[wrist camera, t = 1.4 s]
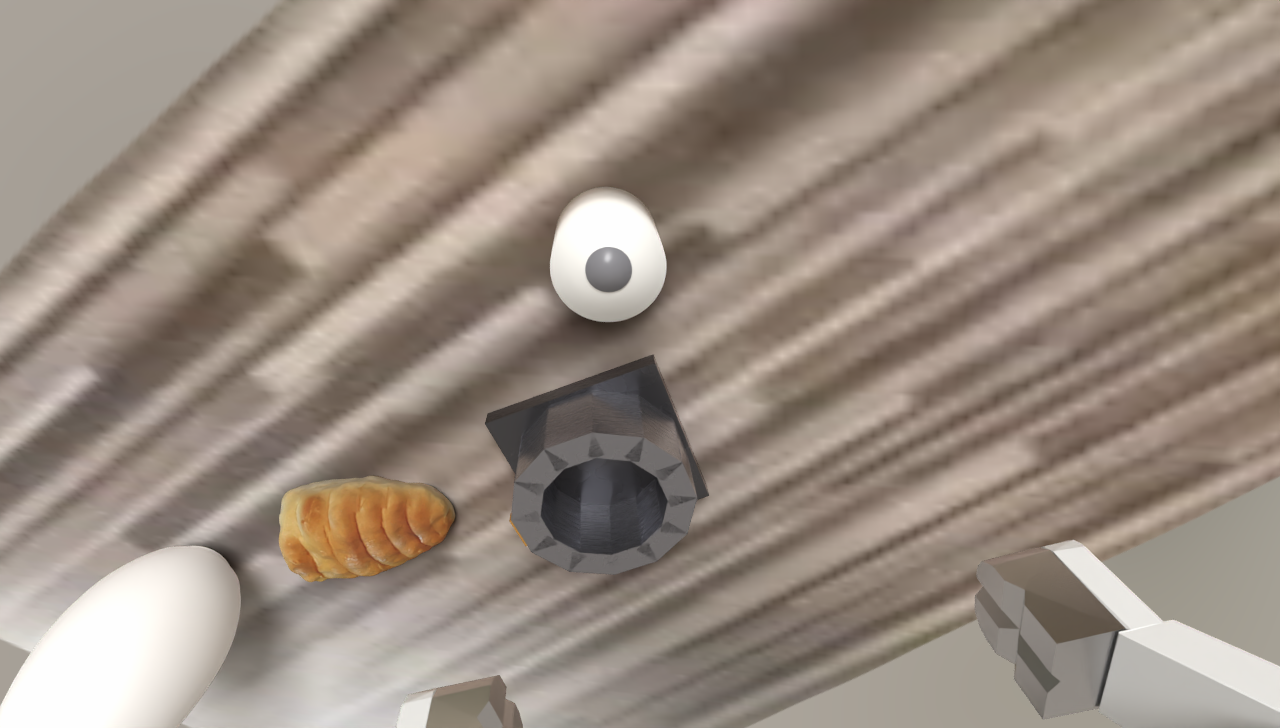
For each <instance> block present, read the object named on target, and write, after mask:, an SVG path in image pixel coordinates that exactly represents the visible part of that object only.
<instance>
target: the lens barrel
mask: <svg viewBox="0 0 1280 728" xmlns="http://www.w3.org/2000/svg"><path fill="white" fill-rule="evenodd" d="M485 425H486V426H487V428H488V430H489V431H490V433H491V434H492V436H493V438H494V439H495V441H496V443H497V444H498V446H499V448H500V449H501V451H502V453H503V454H504V456H505V457H506V459H507V461H508V462H509V464H510V466H511V467H512V469H513V471H514V472H515V474H516V475H515V481H514V493H513V503H512V513H511V515H510V523H511V524H512V526H513V527H514V529H515V530H516V532H517V533H518V535H519V537H520V538H521V540H522V541H523V543H524V544H525V546H528V547H529V549H530V550H531V552H532V553H534V554H536V555H538V556H540V557H542V558H544V559H546V560H548V561H550V562H552V563H554V564H556V565H558V566H559V567H561V568H563V569H565V570H567V571H569V572H583V573H598V574H613V575H615V574H618V573H621V572H624V571H627V570H631V569H634V568H637V567H640V566H643V565H646V564H649V563H653V562H656V561H658V560H659V559H660V558H661V557H662V556H663V555H664V554H665V553H666V552H668V551H669V550H670V549H671V548H672V547H673V546H674V545H675V544H676V543H677V542H679V541H680V540H681V539H682V538H683V537H684V536H685V535H686V534H687V533H688V529H689V526H690V522H691V518H692V515H693V511H694V508H695V504H696V501H697V499H700V498H703V497H706V496H709V493H708V489H707V486H706V483H705V480H704V478H703V475H702V473H701V471H700V468H699V466H698V463H697V461H696V458H695V456H694V453H693V451H692V448H691V446H690V443H689V441H688V439H687V436H686V434H685V431H684V429H683V426H682V424H681V421H680V419H679V416H678V414H677V411H676V409H675V407H674V404H673V402H672V399H671V397H670V394H669V392H668V389H667V387H666V384H665V382H664V379H663V377H662V375H661V372H660V370H659V367H658V365H657V362H656V360H655V357H654V355H651V356H648V357H645V358H642V359H639V360H637V361H634V362H631V363H628V364H625V365H623V366H620V367H617V368H614V369H611V370H609V371H606V372H603V373H600V374H598V375H595V376H592V377H589V378H586V379H584V380H581V381H578V382H575V383H572V384H570V385H567V386H564V387H561V388H558V389H556V390H553V391H550V392H547V393H544V394H542V395H539V396H536V397H533V398H530V399H528V400H525V401H522V402H519V403H516V404H514V405H511V406H508V407H505V408H502V409H500V410H497V411H494V412H491V413H488V414H487V418H486V422H485Z"/></svg>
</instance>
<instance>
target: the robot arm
mask: <svg viewBox="0 0 1280 728" xmlns="http://www.w3.org/2000/svg"><path fill="white" fill-rule="evenodd" d="M977 578H978V580H979V581H980V582H981V584H982V585H983V587H982V588H981V589H980V590H979V592H978V593H977V594H976V595H975V612H976V616H977V619H978V622H979V626H980V628H981V630H982V632H983V633H984V636H985V638H986V640H987V641H988V642H989V644H990V645H991V647H992V648H993V650H994V651H995V653H996V654H997V655H999V656H1001V657H1003V658H1004V659H1006V660H1008V661H1010V662H1011V663H1013V664H1015V673H1014V679H1015V681H1016V683H1017V684H1018V685H1019V687H1020V688H1021V690H1022V691H1023V692H1024V694H1025V695H1026V696H1027V698H1028V699H1029V701H1030V702H1031V704H1032V705H1033V706H1034V708H1035V709H1036V711H1037V712H1038V713H1039V715H1040V716H1041V717H1042V719H1048V718H1053V717H1058V716H1063V715H1068V714H1073V713H1078V712H1083V711H1088V710H1093V709H1098V708H1099V712H1100V713H1101V714H1103V715H1104V716H1106V717H1107V718H1109V719H1110V720H1112V721H1113V722H1115V723H1116V724H1118V725H1119V726H1121V727H1122V728H1280V666H1278V665H1276V664H1273V663H1271V662H1269V661H1266V660H1264V659H1262V658H1260V657H1257V656H1255V655H1253V654H1251V653H1248V652H1246V651H1244V650H1241V649H1239V648H1237V647H1235V646H1232V645H1230V644H1228V643H1226V642H1223V641H1221V640H1219V639H1216V638H1214V637H1212V636H1210V635H1207V634H1205V633H1203V632H1200V631H1198V630H1196V629H1194V628H1192V627H1189V626H1187V625H1185V624H1182V623H1180V622H1178V621H1176V620H1168V621H1162V620H1161V619H1160V618H1159V617H1158V616H1157V615H1156V614H1155V613H1154V612H1153V611H1152V610H1151V609H1150V608H1149V607H1148V606H1147V605H1146V604H1145V603H1144V602H1143V601H1142V600H1140V599H1139V598H1138V597H1137V596H1136V595H1135V594H1134V593H1133V592H1132V591H1131V590H1130V589H1129V588H1128V587H1127V586H1126V585H1125V584H1124V583H1123V582H1122V581H1120V580H1119V579H1118V578H1117V577H1116V576H1115V575H1114V574H1113V573H1112V572H1111V571H1110V570H1109V569H1108V568H1107V567H1106V566H1104V565H1103V563H1102V562H1101V561H1099V560H1098V559H1097V558H1096V557H1095V556H1094V555H1093V554H1092V553H1091V552H1090V551H1089V550H1088V549H1087V548H1086V547H1085V546H1084V545H1083V544H1081V543H1079V542H1077V541H1075V540H1069V541H1064V542H1060V543H1056V544H1052V545H1048V546H1044V547H1041V548H1040V547H1036V548H1032V549H1028V550H1024V551H1020V552H1016V553H1012V554H1008V555H1004V556H1000V557H996V558H992V559H988V560H984V561H982V562H981V563H980V564H979V565H978V568H977ZM505 696H506V685H505V684H504V682H503V680H502V679H501V677H500V675H497V676H493V677H488V678H483V679H478V680H474V681H469V682H464V683H459V684H455V685H450V686H445V687H440V688H435V689H431V690H426V691H422V692H418V693H413V694H409V695H408V696H407V697H406V699H405V701H404V702H403V704H402V706H401V709H400V712H399V716H398V720H397V724H396V728H523V724H522V721H521V717H520V713H519V711H518V709H517V707H516V705H515V703H513V702H511V701H509V700H507V699H505Z"/></svg>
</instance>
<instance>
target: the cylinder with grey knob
mask: <svg viewBox="0 0 1280 728" xmlns="http://www.w3.org/2000/svg"><path fill="white" fill-rule="evenodd" d="M550 273H551V279H552V283H553V285H554V288H555V290H556V292H557V294H558V296H559V297H560V298H561V300H562V301H563V302H564V303H565V304H566V305H567V306H568V307H569V308H570V309H571V310H573V311H574V312H576V313H577V314H579V315H581V316H583V317H585V318H588V319H591V320H594V321H600V322H617V321H622V320H626V319H629V318H631V317H634V316H636V315H638V314H639V313H641V312H642V311H644V310H645V309H646V308H648V307H649V306H650V305H651V304H652V303H653V301H654V300H655V299H656V298H657V296H658V294H659V293H660V291H661V289H662V286H663V284H664V280H665V276H666V257H665V253H664V249H663V246H662V243H661V240H660V237H659V234H658V231H657V228H656V225H655V222H654V220H653V217H652V215H651V213H650V211H649V210H648V208H647V207H646V206H645V205H644V203H643V202H642V201H641V200H639V199H638V198H637V197H636V196H634V195H633V194H631V193H629V192H627V191H625V190H622V189H618V188H614V187H598V188H593V189H590V190H587V191H585V192H582V193H580V194H579V195H577V196H576V197H574V198H573V199H572V200H571V201H570V202H569V203H568V204H567V205H566V206H565V208H564V209H563V211H562V213H561V215H560V217H559V219H558V222H557V226H556V232H555V237H554V243H553V249H552V254H551V260H550Z"/></svg>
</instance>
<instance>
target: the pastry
mask: <svg viewBox="0 0 1280 728" xmlns="http://www.w3.org/2000/svg"><path fill="white" fill-rule="evenodd" d="M454 519H455V512H454V508H453V506H452V504H451V502H450V501H449V500H448V499H447V498H446V497H445V496H444V495H443V494H442V493H441V492H439V491H438V490H437V489H435V488H434V487H432V486H430V485H427V484H423V483H405V482H401V481H397V480H390V479H386V478H383V477H379V476H373V475H370V476H367V477H365V478H351V479H339V480H338V479H333V480H327V481H321V482H314V483H311V484H308V485H302V486H299V487H297V488H294V489H291V490H289V491H288V492H286V494H285V495H284V497H283V499H282V503H281V513H280V515H279V522H280V526H281V531H280V534H279V546H280V549H281V551H282V555H283V557H284V559H285V561H286V563H287V565H288V567H289V569H290V570H291V571H292V572H294V573H296V574H299V575H300V576H301V577H302V578H303V579H304V580H306V581H308V582H313V581H324V580H326V579H329V578H356V577H358V576H373V575H376V574H379V573H380V572H382V571H387V570H388V569H391V568H393V567H396V566H399V565H401V564H403V563H405V562H406V561H407V560H410V559H413V558H416V557H417V556H418V555H419V554H421V553H423V552H425V551H428V550H430V549H431V548H432V547H433V546H435V545H437V544H439V543H440V542H442V541H443V540H444V538H445V537H446V535H447V533H448V531H449V529H450V526H451V524H452V523H453V522H454Z"/></svg>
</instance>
